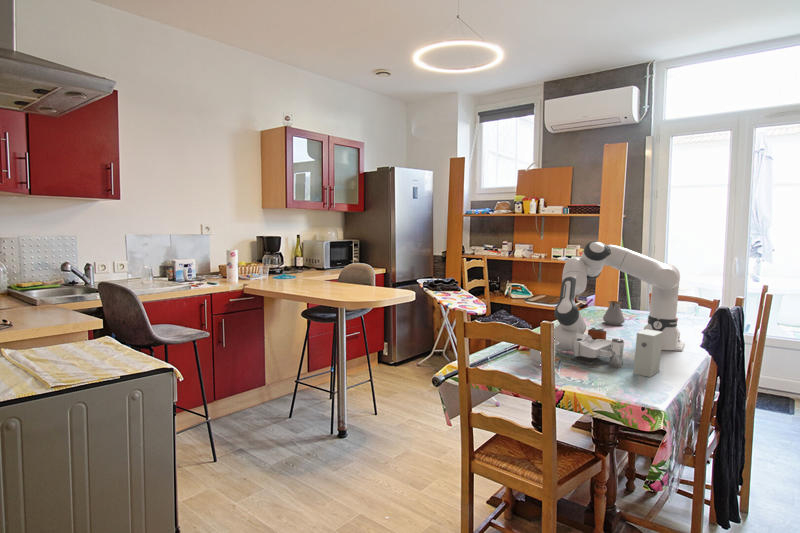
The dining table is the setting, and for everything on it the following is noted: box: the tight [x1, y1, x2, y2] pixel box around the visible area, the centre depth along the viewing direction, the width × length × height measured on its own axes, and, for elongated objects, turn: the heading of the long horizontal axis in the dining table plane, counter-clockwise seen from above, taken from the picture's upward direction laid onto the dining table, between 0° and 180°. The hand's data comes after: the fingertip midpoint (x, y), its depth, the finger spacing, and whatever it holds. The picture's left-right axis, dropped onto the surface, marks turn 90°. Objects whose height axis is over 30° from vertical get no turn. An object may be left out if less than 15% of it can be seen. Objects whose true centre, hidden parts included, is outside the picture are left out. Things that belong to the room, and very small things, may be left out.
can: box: [609, 338, 625, 369], centre depth 187 cm, size 5×5×11 cm
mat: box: [570, 356, 601, 365], centre depth 196 cm, size 10×8×1 cm
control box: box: [633, 329, 663, 378], centre depth 180 cm, size 11×6×16 cm, turn 133°
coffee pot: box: [602, 300, 626, 326], centre depth 262 cm, size 21×12×15 cm, turn 151°
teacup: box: [529, 340, 559, 367], centre depth 188 cm, size 12×15×10 cm
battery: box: [587, 327, 607, 340], centre depth 211 cm, size 4×7×10 cm, turn 45°
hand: (617, 352), depth 187 cm, fingers open, 8 cm apart
